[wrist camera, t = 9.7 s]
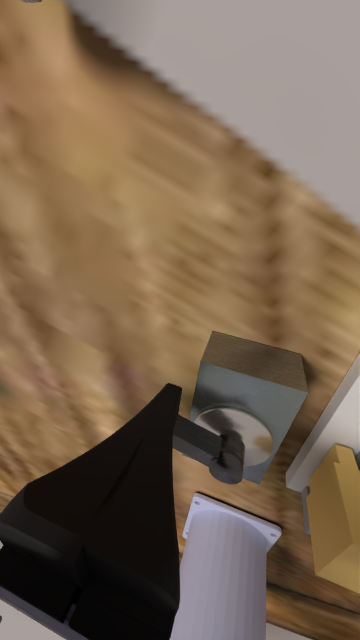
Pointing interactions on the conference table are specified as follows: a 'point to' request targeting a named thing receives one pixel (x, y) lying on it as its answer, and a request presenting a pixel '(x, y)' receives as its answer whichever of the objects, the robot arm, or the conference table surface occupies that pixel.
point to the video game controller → (31, 1)
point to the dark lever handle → (210, 450)
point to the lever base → (249, 396)
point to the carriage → (336, 518)
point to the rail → (329, 436)
